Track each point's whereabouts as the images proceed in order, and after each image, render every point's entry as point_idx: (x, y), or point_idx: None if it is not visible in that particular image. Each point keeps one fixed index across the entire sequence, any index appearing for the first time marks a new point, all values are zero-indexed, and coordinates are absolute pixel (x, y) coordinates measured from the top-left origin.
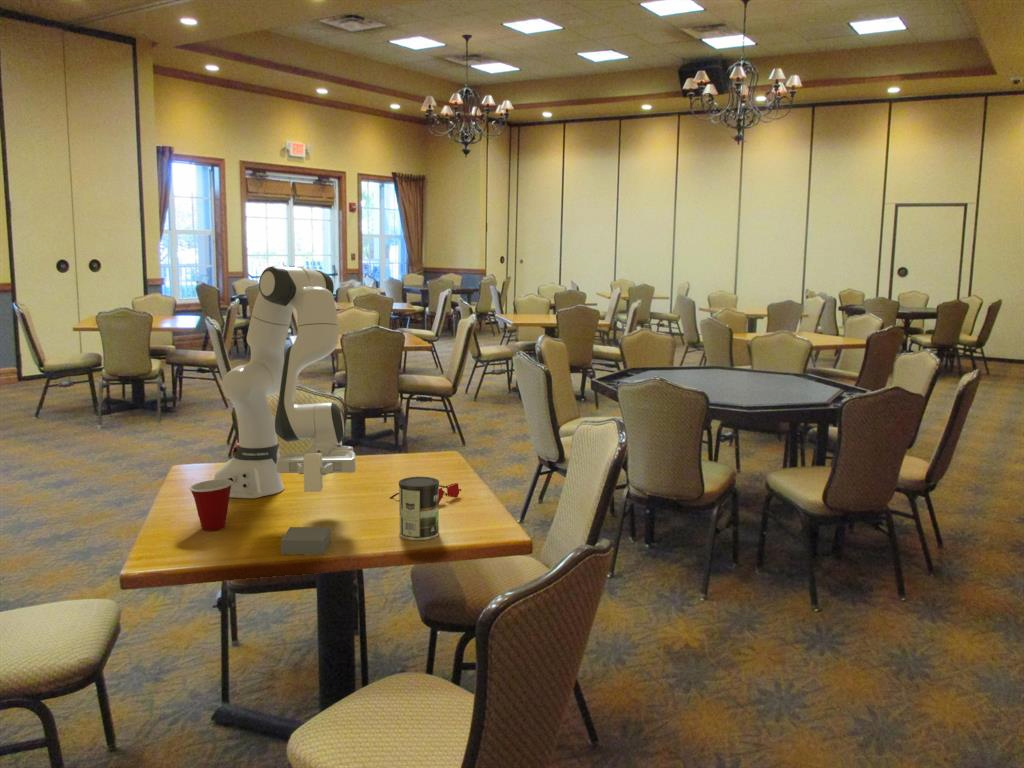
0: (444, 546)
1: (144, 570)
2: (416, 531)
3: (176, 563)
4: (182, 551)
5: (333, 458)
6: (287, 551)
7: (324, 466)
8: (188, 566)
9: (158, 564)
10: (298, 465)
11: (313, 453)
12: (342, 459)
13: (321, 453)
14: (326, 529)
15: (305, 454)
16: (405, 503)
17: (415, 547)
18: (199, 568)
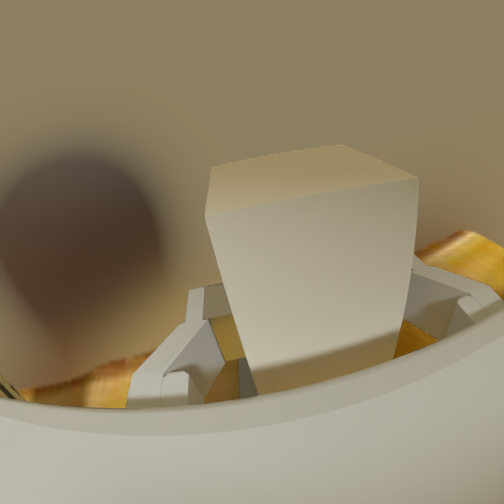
0: (31, 396)
1: (469, 237)
2: None
3: (462, 258)
4: (501, 286)
5: (93, 452)
6: None
7: (207, 302)
8: (439, 256)
9: (476, 250)
10: (449, 274)
11: (320, 186)
12: (23, 407)
13: (208, 207)
14: (248, 393)
15: (378, 161)
16: (12, 389)
17: (68, 396)
18: (420, 255)
